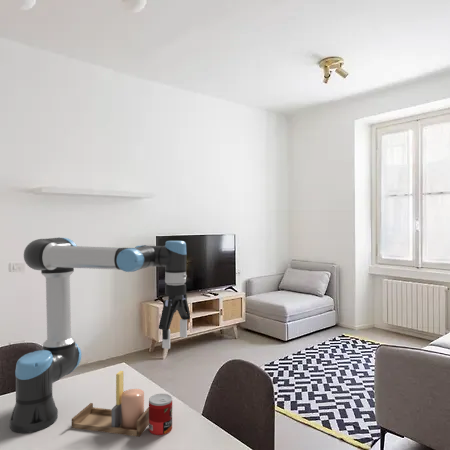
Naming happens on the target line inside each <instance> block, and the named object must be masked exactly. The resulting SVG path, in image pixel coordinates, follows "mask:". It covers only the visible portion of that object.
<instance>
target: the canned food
mask: <svg viewBox="0 0 450 450" xmlns="http://www.w3.org/2000/svg"><path fill="white" fill-rule="evenodd" d="M148 407H149V425H148V431H149V433H150V434H152V435H153V436H163V435H167V434H169V433H171V431H172V430H173V396H172V395H170V394H168V393H155V394H154V395H153V394H152V395H151V396H150V397H149V399H148Z"/></svg>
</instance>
